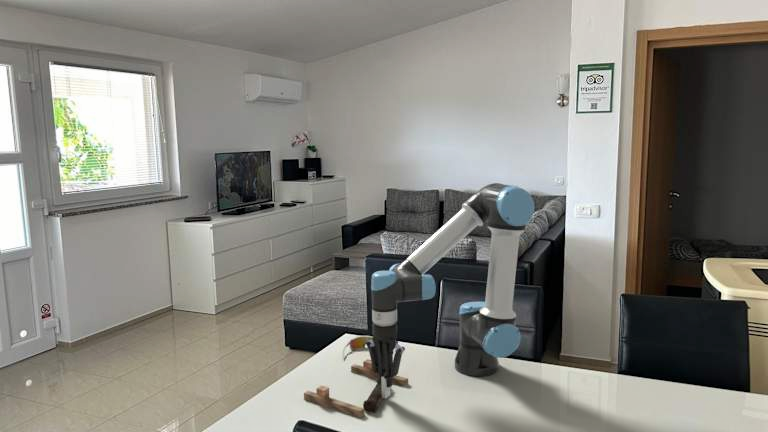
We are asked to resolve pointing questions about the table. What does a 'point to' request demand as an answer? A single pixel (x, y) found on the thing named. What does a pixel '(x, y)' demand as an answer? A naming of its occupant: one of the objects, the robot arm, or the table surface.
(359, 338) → the sunglasses
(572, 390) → the table surface
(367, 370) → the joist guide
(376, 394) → the dark brown wooden log
